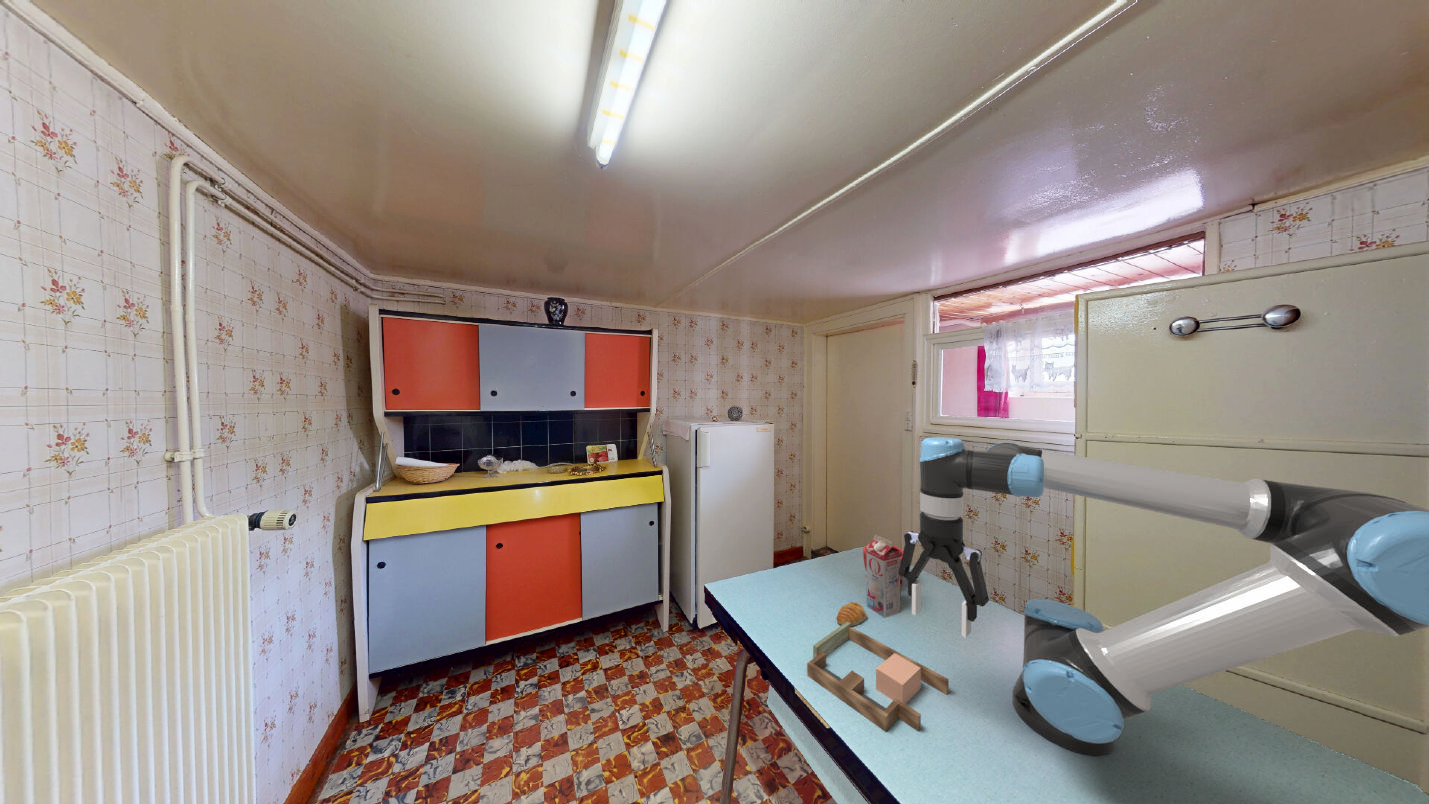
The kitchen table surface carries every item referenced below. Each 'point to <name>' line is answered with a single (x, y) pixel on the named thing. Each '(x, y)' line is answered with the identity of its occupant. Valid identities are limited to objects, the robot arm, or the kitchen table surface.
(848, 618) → the pastry
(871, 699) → the mats
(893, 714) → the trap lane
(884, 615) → the juice carton
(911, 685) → the block
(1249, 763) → the kitchen table surface
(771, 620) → the kitchen table surface
